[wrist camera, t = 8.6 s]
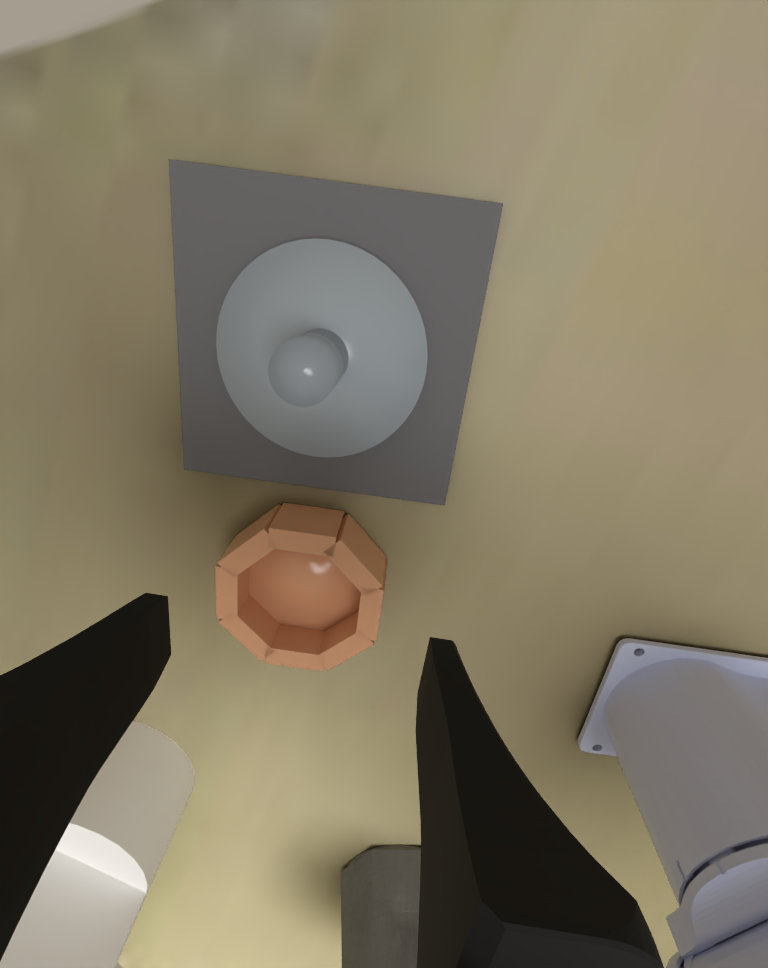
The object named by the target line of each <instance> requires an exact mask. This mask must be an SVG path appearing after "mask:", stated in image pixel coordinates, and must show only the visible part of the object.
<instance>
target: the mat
mask: <svg viewBox="0 0 768 968" xmlns="http://www.w3.org/2000/svg"><path fill="white" fill-rule="evenodd" d="M169 175H170V195H171V216H172V236H173V256H174V276H175V296H176V316H177V336H178V356H179V376H180V396H181V417H182V437H183V457H184V469H186V470H194V471H201V472H208V473H215V474H222V475H229V476H237V477H244V478H251V479H258V480H265V481H273V482H280V483H287V484H294V485H301V486H308V487H316V488H323V489H330V490H337V491H344V492H351V493H359V494H366V495H373V496H380V497H387V498H394V499H402V500H409V501H416V502H423V503H430V504H438V505H445V500H446V495H447V490H448V485H449V480H450V474H451V469H452V464H453V459H454V454H455V449H456V444H457V438H458V433H459V428H460V423H461V418H462V413H463V407H464V402H465V397H466V392H467V387H468V382H469V377H470V371H471V366H472V361H473V356H474V351H475V346H476V341H477V335H478V330H479V325H480V320H481V315H482V310H483V305H484V299H485V294H486V289H487V284H488V279H489V274H490V269H491V263H492V258H493V253H494V248H495V243H496V238H497V233H498V227H499V222H500V217H501V212H502V207H503V204H502V203H494V202H487V201H479V200H472V199H464V198H457V197H449V196H442V195H434V194H426V193H419V192H411V191H404V190H396V189H389V188H381V187H374V186H366V185H359V184H351V183H344V182H336V181H329V180H321V179H313V178H306V177H298V176H291V175H283V174H276V173H268V172H261V171H253V170H246V169H238V168H231V167H223V166H216V165H208V164H200V163H193V162H185V161H178V160H170V159H169ZM313 238H316V239H330V240H335V241H340V242H344V243H347V244H350V245H353V246H355V247H358V248H360V249H362V250H364V251H366V252H368V253H370V254H371V255H373V256H375V257H376V258H378V259H379V260H380V261H382V262H383V263H384V264H386V265H387V266H388V267H389V268H390V269H391V270H392V271H393V272H394V273H395V274H396V275H397V276H398V277H399V278H400V279H401V281H402V282H403V283H404V284H405V286H406V287H407V288H408V290H409V292H410V293H411V295H412V297H413V298H414V300H415V302H416V305H417V307H418V309H419V311H420V314H421V317H422V320H423V324H424V327H425V333H426V339H427V353H428V360H427V371H426V376H425V380H424V385H423V388H422V391H421V393H420V396H419V399H418V401H417V403H416V405H415V406H414V408H413V410H412V412H411V413H410V415H409V416H408V417H407V419H406V420H405V422H404V423H403V424H402V425H401V426H400V427H399V428H398V429H397V430H396V431H395V432H394V433H393V434H392V435H390V436H389V437H388V438H387V439H385V440H384V441H382V442H381V443H379V444H377V445H376V446H374V447H372V448H369V449H367V450H365V451H363V452H359V453H356V454H353V455H348V456H342V457H328V458H326V457H314V456H309V455H304V454H300V453H297V452H294V451H291V450H288V449H286V448H284V447H282V446H280V445H278V444H276V443H274V442H273V441H271V440H270V439H268V438H266V437H265V436H264V435H263V434H261V433H260V432H259V431H257V430H256V429H255V428H254V427H253V426H252V425H251V424H250V423H249V422H248V421H247V420H246V419H245V417H244V416H243V415H242V414H241V412H240V411H239V410H238V409H237V407H236V405H235V404H234V402H233V400H232V399H231V397H230V395H229V393H228V391H227V389H226V387H225V384H224V382H223V378H222V375H221V372H220V368H219V364H218V359H217V348H216V335H217V325H218V319H219V314H220V311H221V308H222V305H223V302H224V299H225V297H226V295H227V293H228V291H229V289H230V287H231V286H232V284H233V283H234V281H235V280H236V278H237V277H238V275H239V274H240V273H241V272H242V271H243V270H244V269H245V268H246V267H247V265H249V264H250V263H251V262H252V261H254V260H255V259H256V258H257V257H258V256H260V255H262V254H263V253H265V252H267V251H268V250H270V249H272V248H274V247H277V246H279V245H282V244H284V243H287V242H292V241H296V240H301V239H313Z"/></svg>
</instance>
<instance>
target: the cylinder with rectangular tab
mask: <svg viewBox="0 0 768 968" xmlns="http://www.w3.org/2000/svg"><path fill="white" fill-rule="evenodd" d="M194 781H195V775H194V770H193V765H192V764H191V762H190V760H189V758H188V757H187V755H186V753H185V752H184V751H183V750H182V749H181V748H180V747H179V746H178V745H177V744H176V743H175V742H174V741H173V740H172V739H170V738H169V737H167V736H166V735H164V734H163V733H161V732H160V731H158V730H156V729H154V728H151V727H149V726H147V725H145V724H142V723H140V722H136V721H132V723H131V724H130V726H129V727H128V729H127V730H126V732H125V733H124V735H123V736H122V738H121V739H120V741H119V742H118V743H117V745H116V746H115V748H114V749H113V751H112V752H111V754H110V755H109V757H108V758H107V760H106V761H105V763H104V764H103V766H102V767H101V769H100V770H99V772H98V774H97V775H96V777H95V778H94V780H93V782H92V783H91V785H90V787H89V788H88V790H87V792H86V794H85V796H84V797H83V799H82V801H81V803H80V805H79V806H78V808H77V810H76V812H75V814H74V816H73V817H72V819H71V821H70V823H69V825H68V826H67V828H66V830H65V832H64V834H63V836H62V838H61V840H60V842H59V844H58V845H57V847H56V849H55V851H54V853H53V855H52V857H51V859H50V861H49V863H48V865H47V867H46V868H45V870H44V872H43V874H42V876H41V878H40V880H39V882H38V884H37V886H36V888H35V890H34V892H33V894H32V896H31V899H30V901H29V903H28V905H27V907H26V909H25V911H24V913H23V915H22V917H21V919H20V921H19V923H18V925H17V927H16V929H15V931H14V933H13V935H12V937H11V940H10V942H9V944H8V946H7V948H6V950H5V953H4V955H3V957H2V959H1V961H0V968H115V966H116V964H117V961H118V959H119V957H120V955H121V952H122V950H123V948H124V946H125V943H126V941H127V939H128V936H129V934H130V932H131V930H132V927H133V925H134V923H135V920H136V918H137V916H138V914H139V911H140V909H141V907H142V904H143V902H144V900H145V898H146V895H147V893H148V891H149V888H150V886H151V884H152V882H153V879H154V877H155V875H156V873H157V870H158V868H159V866H160V863H161V861H162V859H163V857H164V854H165V852H166V850H167V847H168V845H169V843H170V841H171V838H172V836H173V834H174V831H175V829H176V827H177V825H178V822H179V820H180V818H181V815H182V813H183V811H184V809H185V806H186V804H187V802H188V799H189V797H190V795H191V793H192V790H193V787H194Z"/></svg>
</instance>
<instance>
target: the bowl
mask: <svg viewBox="0 0 768 968" xmlns="http://www.w3.org/2000/svg"><path fill="white" fill-rule="evenodd" d="M386 567H387V560H386V555H385V554H384V553H383V552H382V551H381V550H380V549H379V547H378V546H377V545H376V544H375V543H374V542H373V541H372V539H371V538H370V537H369V536H368V535H367V534H366V533H365V531H364V530H363V529H362V528H361V527H360V526H359V525H358V523H357V522H356V521H355V520H354V519H353V518H352V517H351V516H350V514H349V513H348V514H347V515H345V516H344V511H340V510H333V509H326V508H319V507H312V506H305V505H298V504H290V503H283V505H282V506H281V505H280V504H278V505H277V506H275V507H274V508H273V509H271V510H270V511H269V512H267V513H266V514H264V515H263V516H262V517H260V518H259V519H258V520H256V521H255V522H254V523H252V524H251V525H250V526H248V527H247V528H245V529H244V530H243V531H241V532H240V533H239V534H237V535H236V537H235V538H234V540H233V541H232V542H231V544H230V545H229V547H228V548H227V549H226V551H225V552H224V554H223V555H222V557H221V558H220V559H219V561H218V562H217V565H216V566H215V574H216V617H217V618H219V619H220V620H219V623H220V624H221V625H222V626H223V627H224V628H225V629H227V630H228V631H229V632H230V633H231V634H232V635H233V636H234V637H235V638H236V639H237V640H238V641H239V642H241V643H242V644H243V645H244V646H245V647H246V648H247V649H248V650H249V651H250V652H251V653H252V654H253V655H255V656H256V657H257V658H258V659H259V660H260V661H261V660H263V659H265V663H268V664H275V665H282V666H289V667H296V668H303V669H310V670H317V671H324V668H325V669H327V670H330V669H332V668H333V667H335V666H337V665H339V664H340V663H342V662H344V661H346V660H347V659H349V658H351V657H353V656H354V655H356V654H358V653H359V652H361V651H363V650H365V649H366V648H368V647H370V646H372V645H373V644H374V641H377V634H378V627H379V621H380V614H381V607H382V600H383V594H384V586H385V576H386Z"/></svg>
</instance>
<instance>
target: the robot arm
mask: <svg viewBox="0 0 768 968" xmlns="http://www.w3.org/2000/svg"><path fill="white" fill-rule="evenodd" d="M638 648H640V649H639V650H637V651H635V650H636V649H638ZM170 655H171V644H170V627H169V609H168V596H162V595H156V594H150V593H145V594H143V595H141V596H140V597H138V598H136V599H134V600H133V601H131V602H130V603H128V604H126V605H125V606H123V607H121V608H120V609H118V610H117V611H115V612H113V613H112V614H110V615H108V616H107V617H105V618H104V619H102V620H100V621H99V622H97V623H95V624H94V625H92V626H90V627H89V628H87V629H85V630H84V631H82V632H80V633H79V634H77V635H75V636H74V637H72V638H70V639H68V640H67V641H65V642H63V643H61V644H59V645H58V646H56V647H54V648H52V649H50V650H49V651H47V652H45V653H43V654H41V655H39V656H38V657H36V658H34V659H32V660H30V661H29V662H27V663H25V664H23V665H21V666H19V667H17V668H15V669H13V670H11V671H9V672H7V673H5V674H2V675H0V961H1V959H2V957H3V955H4V953H5V950H6V948H7V946H8V944H9V942H10V940H11V937H12V935H13V933H14V931H15V929H16V927H17V925H18V923H19V921H20V919H21V917H22V915H23V913H24V911H25V909H26V907H27V905H28V903H29V901H30V899H31V896H32V894H33V892H34V890H35V888H36V886H37V884H38V882H39V880H40V878H41V876H42V874H43V872H44V870H45V868H46V867H47V865H48V863H49V861H50V859H51V857H52V855H53V853H54V851H55V849H56V847H57V845H58V844H59V842H60V840H61V838H62V836H63V834H64V832H65V830H66V828H67V826H68V825H69V823H70V821H71V819H72V817H73V816H74V814H75V812H76V810H77V808H78V806H79V805H80V803H81V801H82V799H83V797H84V796H85V794H86V792H87V790H88V788H89V787H90V785H91V783H92V782H93V780H94V778H95V777H96V775H97V774H98V772H99V770H100V769H101V767H102V766H103V764H104V763H105V761H106V760H107V758H108V757H109V755H110V754H111V752H112V751H113V749H114V748H115V746H116V745H117V743H118V742H119V741H120V739H121V738H122V736H123V735H124V733H125V732H126V730H127V729H128V727H129V726H130V724H131V723H132V721H133V720H134V718H135V717H136V715H137V714H138V712H139V711H140V709H141V708H142V706H143V705H144V703H145V702H146V700H147V699H148V697H149V695H150V694H151V692H152V691H153V689H154V687H155V685H156V683H157V682H158V680H159V678H160V676H161V674H162V672H163V670H164V668H165V666H166V664H167V662H168V660H169V658H170ZM577 743H578V746H579V748H580V750H582V751H584V752H589V753H596V754H603V755H610V756H617V758H618V760H619V763H620V765H621V767H622V770H623V772H624V775H625V777H626V779H627V782H628V784H629V787H630V789H631V791H632V794H633V796H634V799H635V801H636V803H637V806H638V808H639V811H640V813H641V815H642V818H643V820H644V823H645V825H646V827H647V830H648V832H649V835H650V837H651V840H652V842H653V844H654V847H655V849H656V852H657V854H658V856H659V859H660V861H661V864H662V866H663V868H664V871H665V873H666V876H667V878H668V880H669V883H670V885H671V888H672V890H673V892H674V895H675V897H676V900H677V902H678V904H679V908H678V909H677V910H675V911H674V912H673V913H671V914H670V915H668V916H667V918H666V920H667V922H668V925H669V927H670V930H671V932H672V935H673V938H674V940H675V943H676V945H677V948H678V950H679V952H677V953H675V954H674V955H673V956H672V957H671V958H670V959H669V962H668V964H667V967H666V968H768V658H764V657H757V656H750V655H743V654H736V653H729V652H722V651H715V650H708V649H701V648H694V647H687V646H680V645H673V644H665V643H658V642H651V641H644V640H637V639H630V638H626V639H622V640H621V641H619V642H618V644H617V645H616V648H615V650H614V653H613V655H612V657H611V660H610V662H609V665H608V667H607V670H606V672H605V675H604V677H603V679H602V682H601V684H600V687H599V689H598V692H597V694H596V696H595V699H594V701H593V704H592V706H591V709H590V711H589V713H588V716H587V718H586V721H585V723H584V726H583V728H582V730H581V733H580V735H579V738H578V741H577ZM416 744H417V763H418V780H419V798H420V815H421V865H420V898H419V926H418V950H417V968H664V967H663V964H662V961H661V958H660V955H659V952H658V950H657V947H656V944H655V942H654V939H653V937H652V934H651V932H650V930H649V927H648V925H647V923H646V921H645V919H644V916H643V914H642V912H641V910H640V908H639V905H638V903H637V901H636V900H635V899H634V898H633V897H632V896H631V895H630V894H629V893H628V892H627V891H626V890H625V889H624V888H623V887H622V886H621V885H620V884H619V883H618V882H617V881H616V880H615V879H614V878H613V877H612V876H611V875H610V874H609V873H608V872H607V871H606V870H605V869H604V868H603V867H602V866H601V865H600V864H599V863H598V862H597V861H596V860H595V859H594V858H593V857H592V856H591V855H590V854H589V852H588V851H587V850H586V849H585V848H584V847H583V846H582V845H581V844H580V842H579V841H578V840H577V839H576V838H575V837H574V836H573V835H572V834H571V833H570V831H569V830H568V829H567V828H566V826H565V825H564V824H563V823H562V822H561V820H560V819H559V818H558V817H557V815H556V814H555V813H554V812H553V811H552V809H551V808H550V807H549V806H548V804H547V803H546V802H545V801H544V800H543V798H542V797H541V796H540V794H539V793H538V792H537V790H536V789H535V788H534V786H533V785H532V784H531V782H530V781H529V779H528V778H527V777H526V775H525V774H524V772H523V771H522V770H521V768H520V767H519V765H518V764H517V762H516V761H515V759H514V758H513V756H512V755H511V753H510V752H509V750H508V748H507V747H506V745H505V744H504V742H503V740H502V739H501V737H500V735H499V734H498V732H497V730H496V729H495V727H494V725H493V723H492V722H491V720H490V718H489V716H488V714H487V713H486V711H485V709H484V707H483V705H482V703H481V701H480V699H479V697H478V695H477V693H476V691H475V689H474V687H473V685H472V683H471V681H470V679H469V676H468V674H467V672H466V670H465V667H464V665H463V663H462V660H461V658H460V655H459V653H458V650H457V647H456V645H455V643H454V642H453V641H451V640H445V639H439V638H432V637H430V640H429V644H428V649H427V653H426V658H425V662H424V667H423V671H422V676H421V680H420V685H419V689H418V697H417V716H416Z"/></svg>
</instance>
